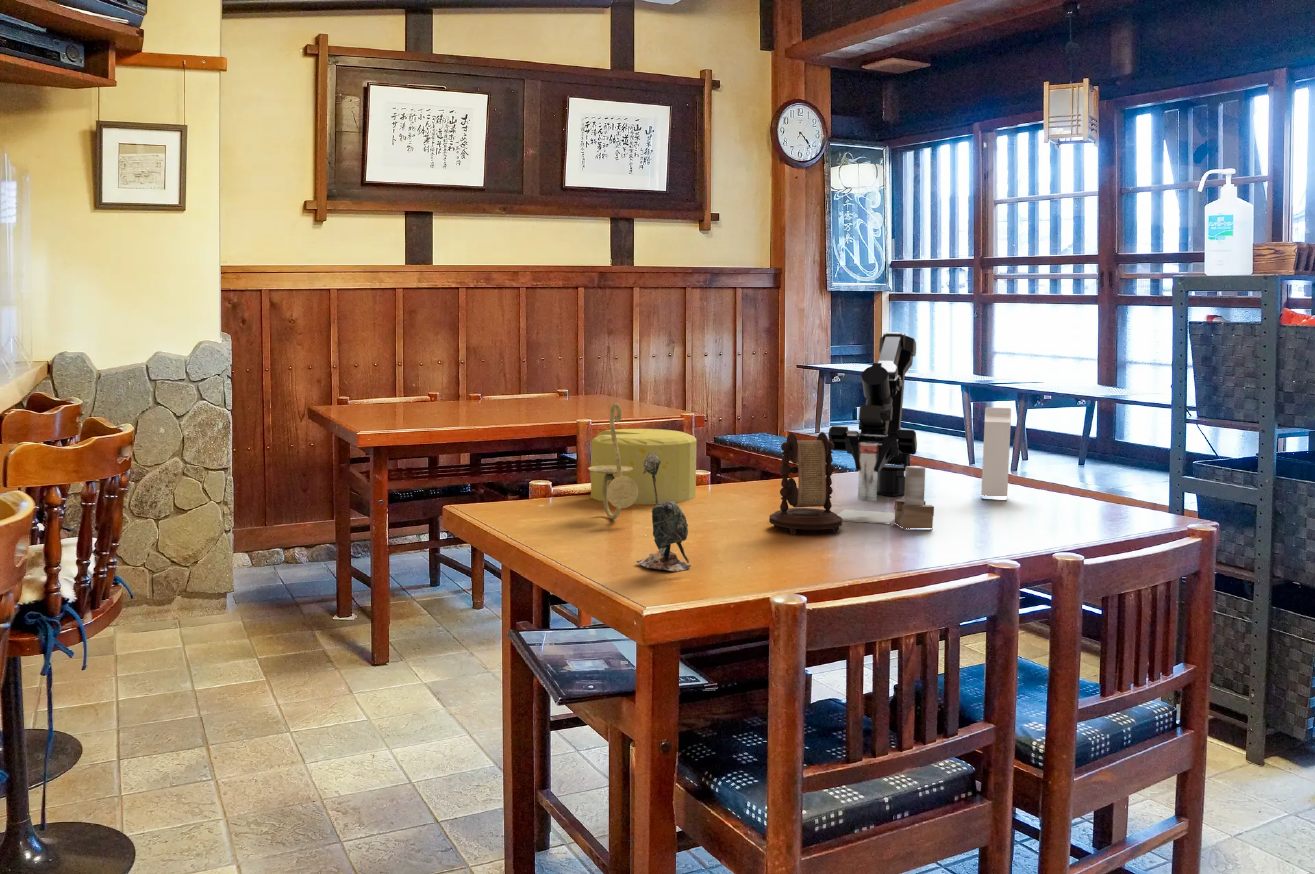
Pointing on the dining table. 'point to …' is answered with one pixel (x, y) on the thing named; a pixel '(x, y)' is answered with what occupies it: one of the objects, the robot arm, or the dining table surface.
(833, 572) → the dining table surface
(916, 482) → the white candle wooden holder
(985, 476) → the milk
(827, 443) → the beaded wooden stand
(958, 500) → the dining table surface
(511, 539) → the dining table surface
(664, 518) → the stone figurine
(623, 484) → the wall sconce
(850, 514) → the grey mat
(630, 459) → the cheese
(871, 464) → the silver cylinder copper band
